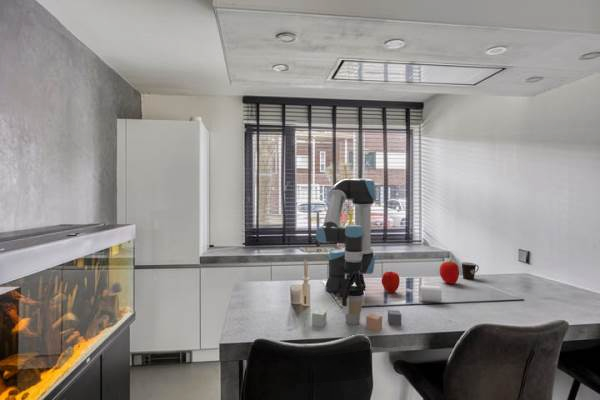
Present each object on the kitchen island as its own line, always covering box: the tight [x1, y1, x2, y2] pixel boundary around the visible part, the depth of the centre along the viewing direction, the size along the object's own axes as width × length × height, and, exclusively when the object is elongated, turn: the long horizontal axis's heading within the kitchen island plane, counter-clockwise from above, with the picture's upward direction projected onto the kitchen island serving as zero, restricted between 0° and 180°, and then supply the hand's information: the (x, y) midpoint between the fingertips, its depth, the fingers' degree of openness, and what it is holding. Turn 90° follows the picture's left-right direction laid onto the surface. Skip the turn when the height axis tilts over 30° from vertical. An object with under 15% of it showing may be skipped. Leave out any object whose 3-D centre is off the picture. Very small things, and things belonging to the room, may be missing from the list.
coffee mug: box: [461, 262, 480, 281], centre depth 230 cm, size 12×9×10 cm
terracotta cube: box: [365, 313, 383, 332], centre depth 145 cm, size 5×5×5 cm
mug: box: [418, 285, 443, 303], centre depth 183 cm, size 12×10×8 cm
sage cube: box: [311, 309, 327, 327], centre depth 149 cm, size 5×5×5 cm
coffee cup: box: [344, 285, 365, 326], centre depth 151 cm, size 9×9×15 cm
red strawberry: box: [439, 260, 460, 285], centre depth 218 cm, size 13×11×14 cm
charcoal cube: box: [387, 309, 402, 327], centre depth 150 cm, size 5×5×5 cm
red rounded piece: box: [381, 271, 401, 294], centre depth 197 cm, size 10×10×12 cm
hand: (352, 309), depth 151 cm, fingers open, 13 cm apart
